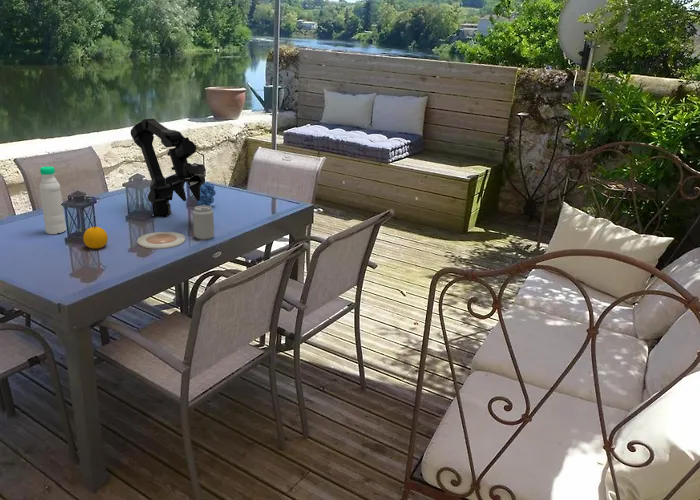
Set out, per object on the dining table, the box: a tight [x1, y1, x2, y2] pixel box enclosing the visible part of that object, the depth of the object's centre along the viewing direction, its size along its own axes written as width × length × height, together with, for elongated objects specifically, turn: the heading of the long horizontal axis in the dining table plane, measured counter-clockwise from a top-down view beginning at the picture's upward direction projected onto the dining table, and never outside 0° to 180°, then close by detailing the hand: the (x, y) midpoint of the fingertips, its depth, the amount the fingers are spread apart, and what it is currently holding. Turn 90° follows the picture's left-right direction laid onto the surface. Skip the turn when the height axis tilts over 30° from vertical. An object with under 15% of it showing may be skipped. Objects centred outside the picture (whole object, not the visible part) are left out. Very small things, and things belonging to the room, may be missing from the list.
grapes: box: [196, 181, 217, 207], centre depth 253 cm, size 12×7×12 cm, turn 152°
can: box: [192, 205, 215, 241], centre depth 217 cm, size 8×8×12 cm
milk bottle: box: [38, 166, 67, 235], centre depth 213 cm, size 7×7×25 cm
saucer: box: [136, 231, 186, 250], centre depth 213 cm, size 17×17×1 cm
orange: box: [82, 226, 109, 250], centre depth 203 cm, size 8×8×8 cm
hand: (192, 200), depth 223 cm, fingers open, 9 cm apart
